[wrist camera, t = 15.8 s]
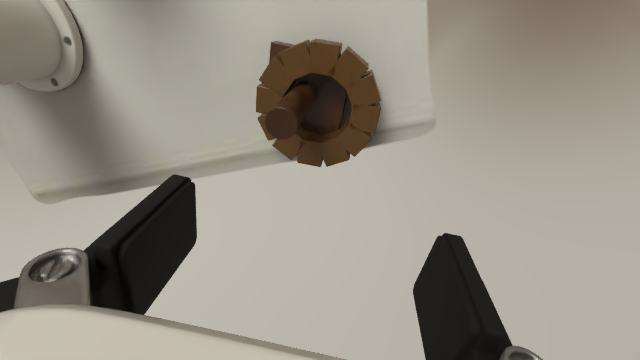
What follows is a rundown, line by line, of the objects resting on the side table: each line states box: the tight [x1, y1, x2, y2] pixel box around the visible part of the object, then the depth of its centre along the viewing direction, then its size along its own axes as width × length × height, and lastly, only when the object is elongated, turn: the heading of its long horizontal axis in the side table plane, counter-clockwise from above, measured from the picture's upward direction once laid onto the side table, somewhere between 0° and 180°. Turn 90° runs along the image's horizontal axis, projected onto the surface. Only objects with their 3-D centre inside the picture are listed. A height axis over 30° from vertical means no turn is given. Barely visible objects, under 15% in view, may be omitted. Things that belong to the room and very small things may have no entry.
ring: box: [256, 39, 381, 167], centre depth 29 cm, size 12×12×3 cm
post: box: [265, 41, 347, 140], centre depth 26 cm, size 8×8×12 cm
